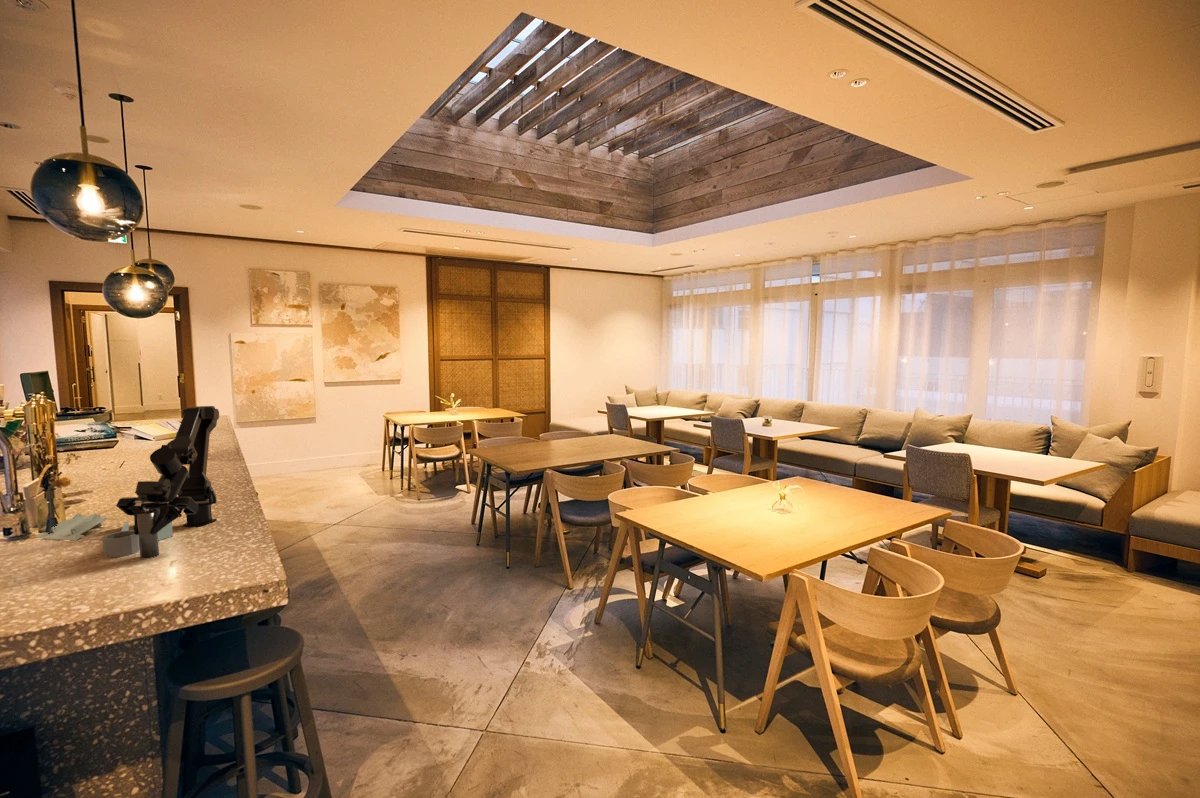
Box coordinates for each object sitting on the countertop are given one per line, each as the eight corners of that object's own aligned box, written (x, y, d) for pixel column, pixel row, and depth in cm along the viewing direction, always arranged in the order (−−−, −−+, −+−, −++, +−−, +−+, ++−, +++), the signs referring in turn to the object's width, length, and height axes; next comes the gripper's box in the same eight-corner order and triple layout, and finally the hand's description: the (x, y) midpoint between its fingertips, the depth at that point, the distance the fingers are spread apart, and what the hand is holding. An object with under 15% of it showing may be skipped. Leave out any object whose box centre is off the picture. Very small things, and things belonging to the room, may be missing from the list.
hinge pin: (149, 553, 156) (146, 510, 155) (163, 553, 155) (159, 510, 154) (136, 558, 152) (132, 514, 151) (150, 559, 151) (146, 515, 150)
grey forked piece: (136, 535, 171) (134, 519, 170) (176, 536, 170) (175, 520, 169) (78, 556, 153) (76, 538, 153) (122, 557, 152) (121, 539, 152)
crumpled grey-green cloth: (75, 509, 180) (114, 511, 177) (82, 524, 182) (121, 527, 179) (25, 535, 166) (67, 538, 164) (34, 552, 169) (75, 555, 166)
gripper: (118, 468, 155) (87, 520, 145) (189, 467, 156) (163, 519, 146) (142, 489, 163) (114, 540, 153) (209, 488, 164) (186, 538, 154)
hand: (144, 534), depth 151 cm, fingers closed on hinge pin, 4 cm apart
